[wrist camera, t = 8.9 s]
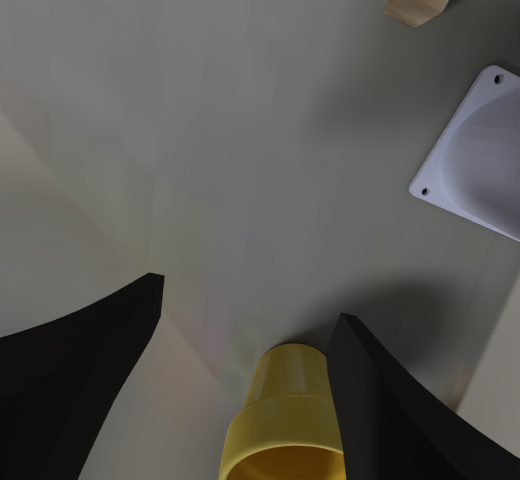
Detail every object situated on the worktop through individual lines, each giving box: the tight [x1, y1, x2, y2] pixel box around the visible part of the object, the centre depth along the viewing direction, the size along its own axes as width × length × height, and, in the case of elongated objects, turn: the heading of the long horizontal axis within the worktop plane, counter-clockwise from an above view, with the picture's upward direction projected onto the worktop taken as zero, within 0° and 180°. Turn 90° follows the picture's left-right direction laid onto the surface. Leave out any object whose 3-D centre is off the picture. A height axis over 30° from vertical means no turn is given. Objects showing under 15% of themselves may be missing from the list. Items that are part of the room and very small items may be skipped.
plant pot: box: [218, 343, 346, 480], centre depth 23 cm, size 10×10×10 cm
